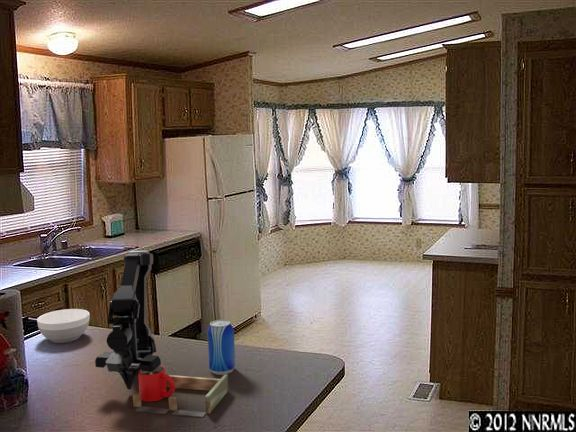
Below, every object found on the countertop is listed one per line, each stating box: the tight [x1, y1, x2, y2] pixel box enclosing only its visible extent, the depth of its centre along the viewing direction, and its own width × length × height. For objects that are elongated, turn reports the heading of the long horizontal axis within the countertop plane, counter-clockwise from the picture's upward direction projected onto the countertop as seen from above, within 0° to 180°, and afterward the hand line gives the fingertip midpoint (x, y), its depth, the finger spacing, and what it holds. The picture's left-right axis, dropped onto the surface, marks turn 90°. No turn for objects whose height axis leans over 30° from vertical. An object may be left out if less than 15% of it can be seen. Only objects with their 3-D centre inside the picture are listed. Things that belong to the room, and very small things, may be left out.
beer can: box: [206, 319, 236, 376], centre depth 193 cm, size 8×8×16 cm
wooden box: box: [132, 374, 229, 418], centre depth 173 cm, size 23×18×5 cm
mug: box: [137, 364, 176, 402], centre depth 175 cm, size 8×12×8 cm, turn 65°
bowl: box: [36, 308, 90, 344], centre depth 229 cm, size 19×19×9 cm
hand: (129, 388), depth 178 cm, fingers closed
